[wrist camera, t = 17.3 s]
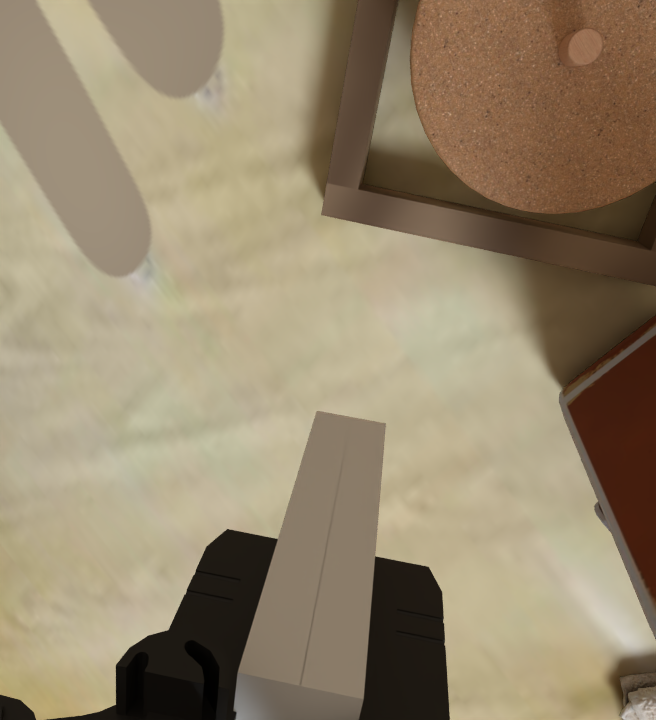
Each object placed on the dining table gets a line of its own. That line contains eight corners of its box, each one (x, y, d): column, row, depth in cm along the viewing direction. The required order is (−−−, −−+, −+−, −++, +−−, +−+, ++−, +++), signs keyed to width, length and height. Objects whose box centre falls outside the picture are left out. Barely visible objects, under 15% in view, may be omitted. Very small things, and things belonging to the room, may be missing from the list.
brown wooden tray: (327, 207, 31) (321, 214, 29) (400, -208, 24) (398, -233, 22) (656, 277, 30) (670, 289, 28) (830, -139, 23) (864, -158, 21)
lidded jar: (587, -152, 24) (672, -287, 16) (714, 83, 27) (848, 78, 18) (368, 40, 28) (340, 16, 19) (497, 231, 30) (523, 283, 22)
